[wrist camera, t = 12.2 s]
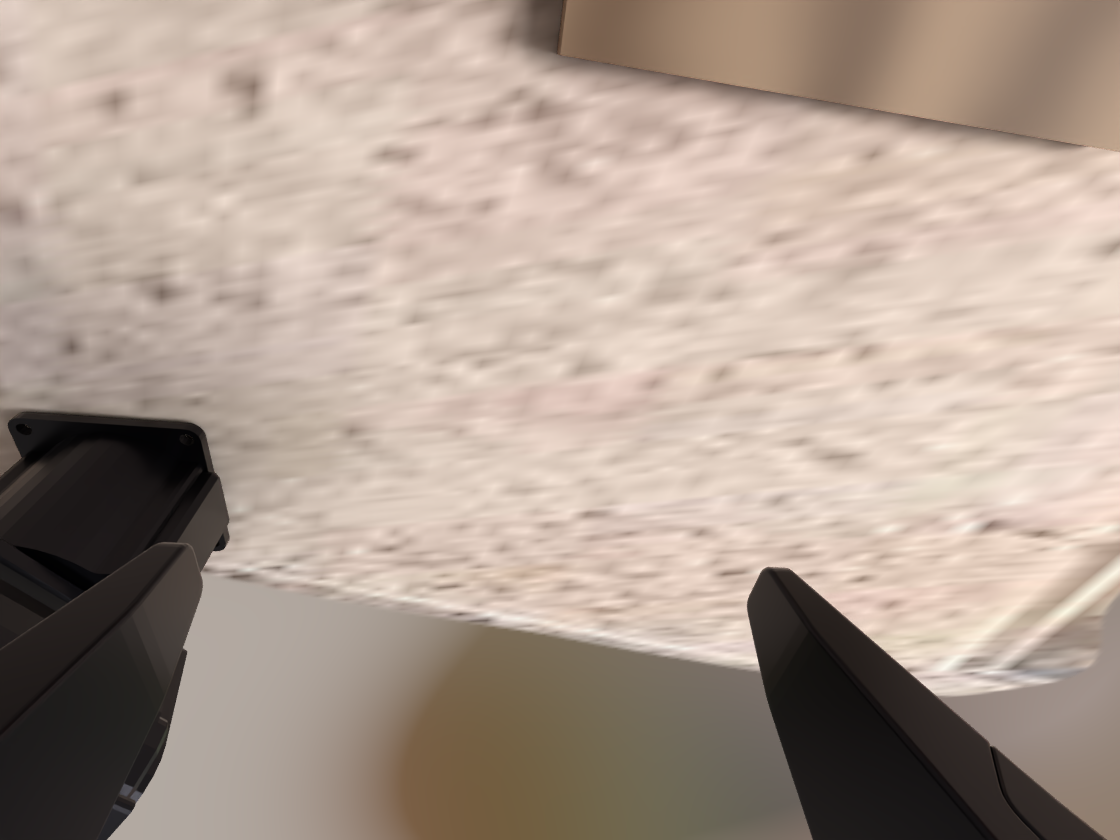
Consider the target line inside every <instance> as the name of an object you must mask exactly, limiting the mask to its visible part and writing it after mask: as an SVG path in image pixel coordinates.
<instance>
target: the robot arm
mask: <svg viewBox="0 0 1120 840" xmlns="http://www.w3.org/2000/svg"><path fill="white" fill-rule="evenodd" d="M26 425H27V426H29V427H30V428H29V427H27V426H26ZM8 428H9V431H10V433H11V435H12V437H13V439H14V441H15V444H16V446H17V448H18V450H19V452H20V454H21V457H22V458H21V459H20V460H19V461H18V462H17V463H16V464H15V465H13V466H12V467H11V468H10V469H9V470H8V471H6V472H5V473H4V474H3V475H2V476H1V477H0V840H107V839H108V838H109V837H110V836H111V834H112V833H113V832H114V831H115V830H116V829H117V828H118V827H119V825H120V824H121V823H122V822H123V821H124V820H125V819H126V818H127V816H128V815H129V814H130V813H131V812H132V810H133V809H134V807H135V804H136V802H137V801H138V799H139V798H140V797H141V795H142V794H143V792H144V791H145V789H146V787H147V786H148V784H149V782H150V781H151V779H152V777H153V776H154V774H155V771H156V769H157V767H158V765H159V763H160V761H161V758H162V755H163V752H164V749H165V746H166V741H167V737H168V733H169V728H170V724H171V720H172V715H173V711H174V707H175V703H176V698H177V694H178V690H179V686H180V681H181V677H182V673H183V668H184V664H185V660H186V655H187V651H186V650H184V649H183V646H184V643H185V640H186V637H187V634H188V632H189V629H190V626H191V623H192V620H193V617H194V614H195V612H196V609H197V606H198V603H199V600H200V597H201V593H202V588H203V582H202V577H201V571H202V569H203V567H204V566H205V564H206V562H207V560H208V558H209V557H210V555H211V553H212V551H221V550H223V549H224V548H225V547H226V545H227V543H228V541H229V533H228V528H227V525H228V523H229V516H228V512H227V507H226V503H225V499H224V494H223V490H222V486H221V481H220V478H219V477H218V475H217V474H216V473H215V472H214V469H213V464H212V460H211V456H210V452H209V447H208V443H207V439H206V435H205V433H204V431H203V430H202V429H201V428H200V427H198V426H197V425H195V424H190V423H177V422H163V421H148V420H134V419H119V418H105V417H90V416H76V415H61V414H47V413H32V412H22V413H19V414H18V415H16V416H15V417H14V418H12V419H11V420H10V421H9V423H8ZM185 434H186V435H189V436H191V437H192V438H193V439H189V438H188V437H186V436H185ZM747 611H748V617H749V621H750V626H751V630H752V635H753V639H754V644H755V648H756V653H757V658H758V662H759V667H760V671H761V676H762V680H763V685H764V689H765V693H766V697H767V701H768V704H769V707H770V710H771V713H772V717H773V720H774V723H775V726H776V729H777V732H778V735H779V738H780V741H781V744H782V747H783V750H784V753H785V756H786V759H787V762H788V765H789V769H790V771H791V775H792V778H793V781H794V784H795V787H796V790H797V793H798V796H799V799H800V802H801V805H802V808H803V811H804V814H805V817H806V820H807V823H808V826H809V829H810V832H811V835H812V838H813V840H1106V839H1105V838H1104V837H1103V836H1101V835H1100V834H1099V833H1098V832H1096V831H1095V830H1094V829H1093V828H1091V827H1090V826H1089V825H1088V824H1086V823H1085V822H1084V821H1082V820H1081V819H1080V818H1079V817H1078V816H1076V815H1075V814H1074V813H1073V812H1071V811H1070V810H1069V809H1068V808H1066V807H1065V806H1064V805H1063V804H1061V803H1060V802H1059V801H1058V800H1057V799H1055V798H1054V797H1053V796H1052V795H1051V794H1050V793H1048V792H1047V791H1046V790H1045V789H1044V788H1042V787H1041V786H1040V785H1039V784H1038V783H1037V782H1035V781H1034V780H1033V779H1032V778H1031V777H1029V776H1028V775H1027V774H1026V773H1025V772H1023V771H1022V770H1021V769H1020V768H1019V767H1018V766H1016V765H1015V764H1014V763H1013V762H1012V761H1011V760H1010V759H1008V758H1007V757H1006V756H1005V755H1004V754H1003V753H1001V752H1000V751H999V750H998V749H997V748H996V747H994V746H990V744H989V742H988V741H987V740H986V739H985V738H984V737H983V736H982V735H981V734H979V733H978V732H977V731H976V730H975V729H974V728H972V727H971V726H970V725H969V724H968V723H967V722H965V721H964V720H963V719H962V718H961V717H960V716H959V715H958V714H956V713H955V712H954V711H953V710H952V709H950V708H949V707H948V706H947V705H946V704H945V703H943V702H942V701H941V700H940V699H939V698H938V697H937V696H936V695H935V694H933V693H932V692H931V691H930V690H929V689H928V688H926V687H925V686H924V685H923V684H922V683H921V682H920V681H918V680H917V679H916V678H915V677H914V676H913V675H912V674H910V673H909V672H908V671H907V670H906V669H905V668H903V667H902V666H901V665H900V664H899V663H898V662H897V661H895V660H894V659H893V658H892V657H891V656H890V655H889V654H887V653H886V652H885V651H884V650H883V649H882V648H880V647H879V646H878V645H877V644H876V643H875V642H874V641H872V640H871V639H870V638H869V637H868V636H867V635H865V634H864V633H863V632H862V631H861V630H860V629H859V628H857V627H856V626H855V625H854V624H853V623H852V622H851V621H849V620H848V619H847V618H846V617H845V616H844V615H842V614H841V613H840V612H839V611H838V610H837V609H836V608H834V607H833V606H832V605H831V604H830V603H829V602H828V601H826V600H825V599H824V598H823V597H822V596H821V595H819V594H818V593H817V592H816V591H815V590H814V589H813V588H811V587H810V586H809V585H808V584H807V583H806V582H805V581H803V580H802V579H801V578H800V577H799V576H798V575H796V574H795V573H794V572H793V571H791V570H790V569H788V568H779V567H766V568H765V569H763V570H762V571H761V573H760V575H759V577H758V579H757V581H756V583H755V585H754V587H753V589H752V591H751V593H750V595H749V598H748V602H747Z"/></svg>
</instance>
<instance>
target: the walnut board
mask: <svg viewBox="0 0 1120 840" xmlns="http://www.w3.org/2000/svg"><path fill="white" fill-rule="evenodd" d="M557 54H558V55H562V56H568V57H574V58H580V59H585V60H591V61H597V62H603V63H609V64H614V65H620V66H626V67H632V68H638V69H643V70H649V71H655V72H661V73H666V74H672V75H678V76H684V77H690V78H695V79H701V80H707V81H713V82H718V83H724V84H730V85H736V86H742V87H747V88H753V89H759V90H765V91H771V92H776V93H782V94H788V95H794V96H799V97H805V98H811V99H817V100H823V101H828V102H834V103H840V104H846V105H851V106H857V107H863V108H869V109H875V110H880V111H886V112H892V113H898V114H904V115H909V116H915V117H921V118H927V119H932V120H938V121H944V122H950V123H956V124H961V125H967V126H973V127H979V128H985V129H990V130H996V131H1002V132H1008V133H1013V134H1019V135H1025V136H1031V137H1037V138H1042V139H1048V140H1054V141H1060V142H1065V143H1071V144H1077V145H1083V146H1089V147H1094V148H1100V149H1106V150H1112V151H1118V152H1120V0H563V7H562V16H561V24H560V32H559V40H558V49H557Z"/></svg>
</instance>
